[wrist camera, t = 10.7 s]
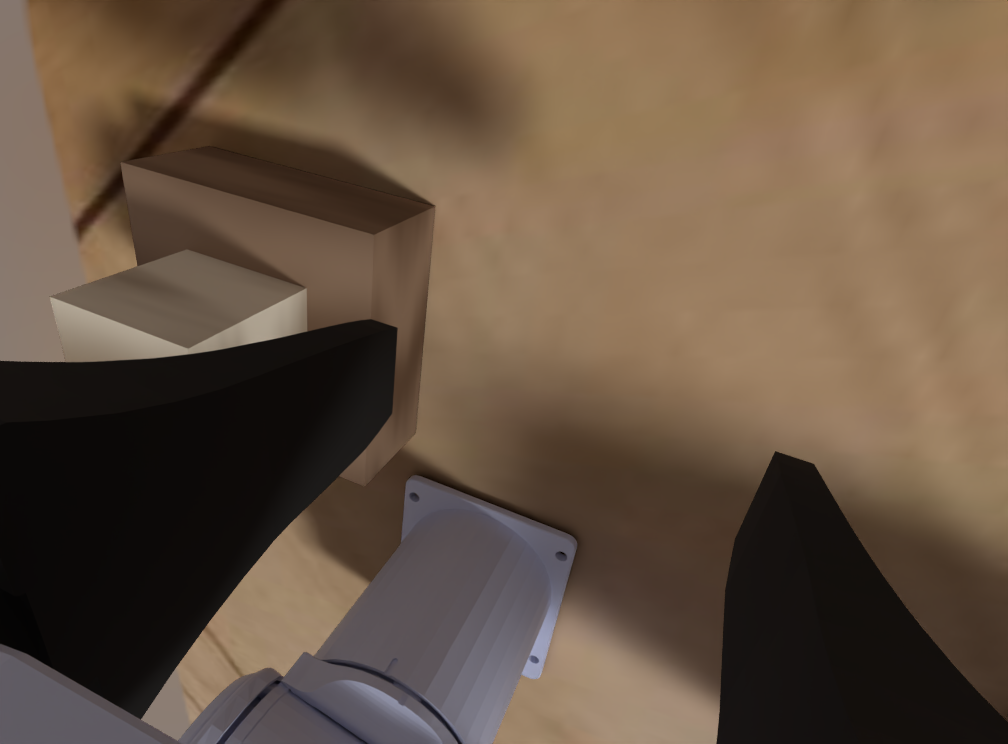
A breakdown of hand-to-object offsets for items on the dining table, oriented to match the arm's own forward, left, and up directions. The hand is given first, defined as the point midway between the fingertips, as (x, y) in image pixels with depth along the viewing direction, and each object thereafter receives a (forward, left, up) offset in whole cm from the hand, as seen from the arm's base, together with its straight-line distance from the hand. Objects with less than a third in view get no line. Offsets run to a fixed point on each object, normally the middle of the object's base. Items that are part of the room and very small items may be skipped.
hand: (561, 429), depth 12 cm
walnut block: (-5, +13, -10) cm, 17 cm away
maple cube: (-5, +13, -6) cm, 15 cm away
